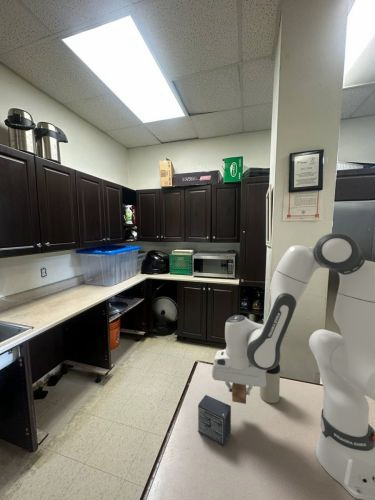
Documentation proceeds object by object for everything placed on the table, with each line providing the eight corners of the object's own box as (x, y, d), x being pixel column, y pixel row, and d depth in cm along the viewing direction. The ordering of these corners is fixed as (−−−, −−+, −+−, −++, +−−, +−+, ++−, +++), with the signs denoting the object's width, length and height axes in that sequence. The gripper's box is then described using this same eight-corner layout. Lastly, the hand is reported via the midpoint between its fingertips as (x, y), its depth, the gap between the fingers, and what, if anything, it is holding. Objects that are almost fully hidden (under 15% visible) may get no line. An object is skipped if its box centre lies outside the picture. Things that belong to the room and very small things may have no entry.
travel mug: (269, 406, 87) (270, 365, 86) (256, 393, 94) (256, 355, 93) (283, 400, 90) (284, 360, 89) (269, 388, 98) (269, 350, 96)
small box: (231, 432, 76) (232, 405, 75) (224, 448, 70) (225, 418, 69) (205, 419, 81) (205, 393, 81) (197, 432, 76) (197, 404, 75)
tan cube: (246, 394, 83) (245, 382, 82) (246, 403, 78) (245, 391, 78) (233, 391, 84) (233, 380, 84) (232, 401, 79) (231, 388, 79)
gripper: (266, 356, 80) (267, 391, 81) (213, 350, 86) (215, 382, 87) (267, 366, 74) (268, 403, 75) (210, 359, 80) (212, 393, 81)
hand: (239, 392), depth 81 cm, fingers closed on tan cube, 5 cm apart
